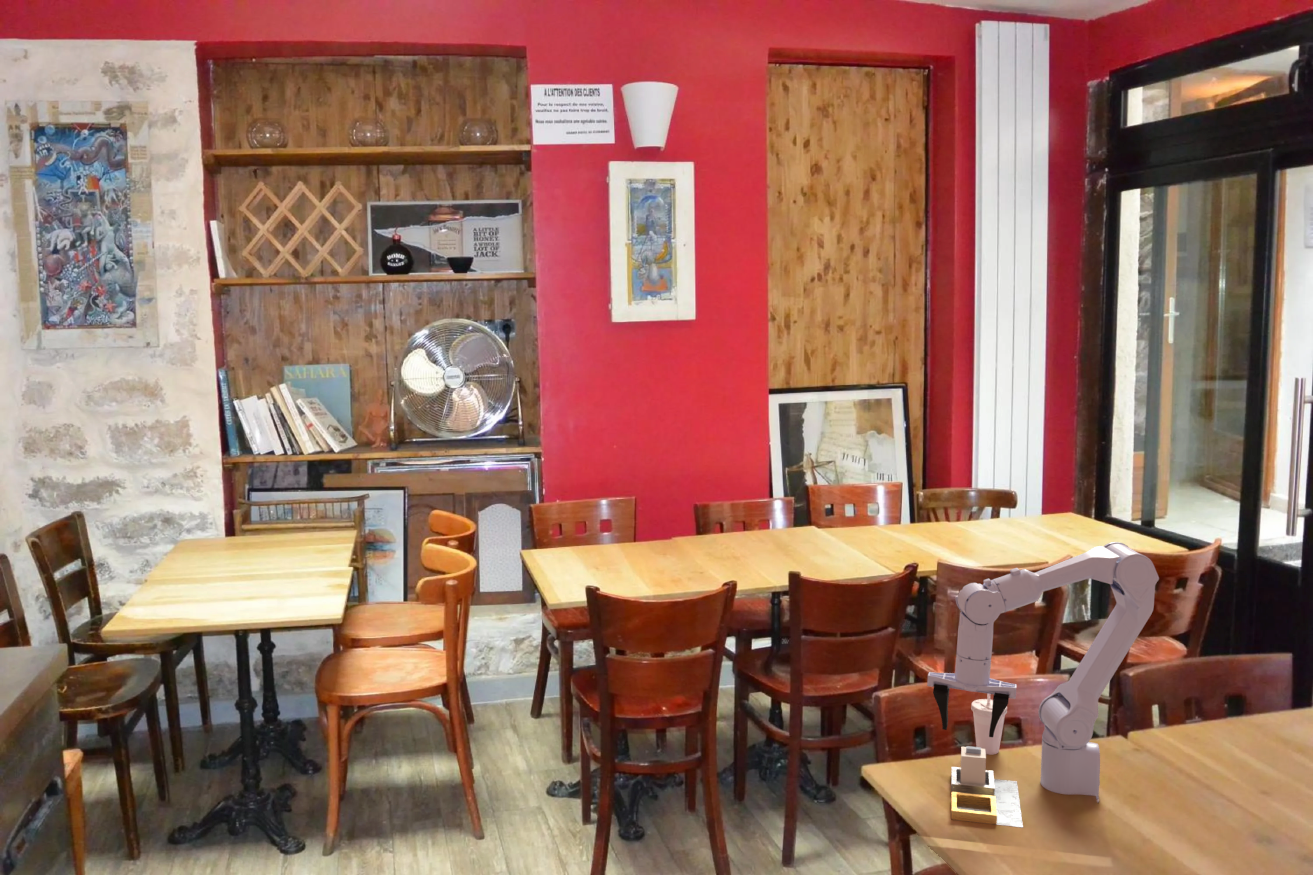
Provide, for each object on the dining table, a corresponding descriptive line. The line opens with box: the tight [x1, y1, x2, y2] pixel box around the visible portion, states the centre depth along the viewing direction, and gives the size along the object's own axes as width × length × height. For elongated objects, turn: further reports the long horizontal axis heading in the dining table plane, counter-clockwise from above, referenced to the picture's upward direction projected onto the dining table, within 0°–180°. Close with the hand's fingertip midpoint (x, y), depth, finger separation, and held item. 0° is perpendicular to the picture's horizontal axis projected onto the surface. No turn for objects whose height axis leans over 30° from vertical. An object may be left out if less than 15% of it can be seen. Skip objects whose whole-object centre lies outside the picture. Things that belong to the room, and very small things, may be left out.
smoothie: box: [970, 693, 1008, 756], centre depth 205 cm, size 6×6×14 cm
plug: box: [960, 745, 987, 785], centre depth 190 cm, size 4×4×7 cm
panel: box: [950, 766, 1024, 828], centre depth 185 cm, size 11×17×2 cm, turn 165°
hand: (968, 731), depth 190 cm, fingers open, 7 cm apart
